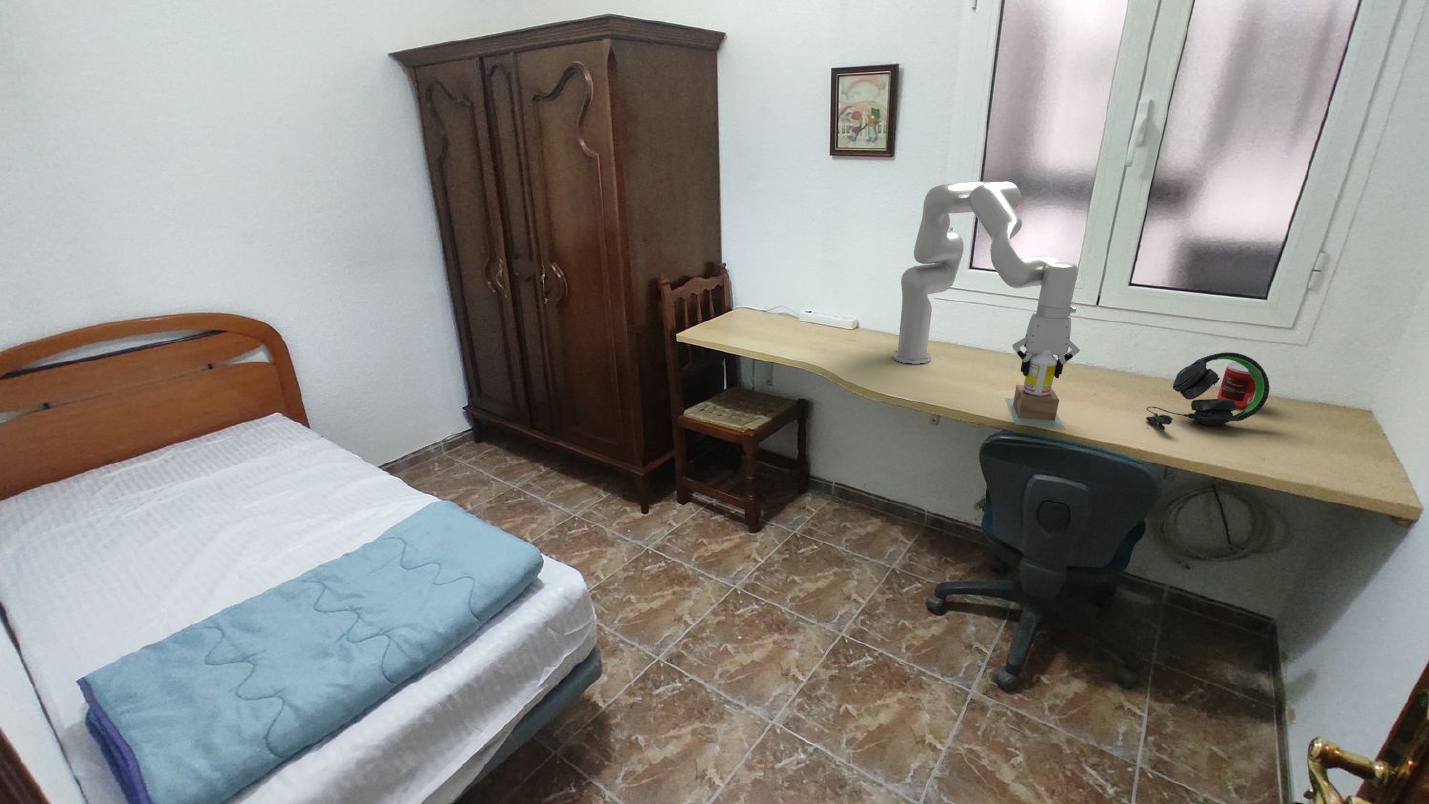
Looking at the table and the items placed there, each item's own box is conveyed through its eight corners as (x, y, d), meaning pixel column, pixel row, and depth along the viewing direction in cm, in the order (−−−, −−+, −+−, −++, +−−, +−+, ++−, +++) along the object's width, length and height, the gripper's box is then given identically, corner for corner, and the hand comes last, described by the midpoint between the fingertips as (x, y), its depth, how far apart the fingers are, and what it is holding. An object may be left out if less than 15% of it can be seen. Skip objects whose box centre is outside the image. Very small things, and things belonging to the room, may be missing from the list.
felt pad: (1004, 399, 186) (1004, 397, 185) (1049, 402, 183) (1049, 401, 183) (1015, 426, 170) (1015, 424, 170) (1064, 430, 167) (1065, 428, 167)
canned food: (1243, 399, 182) (1255, 363, 177) (1254, 410, 175) (1268, 373, 171) (1211, 396, 184) (1223, 360, 180) (1221, 407, 177) (1233, 370, 173)
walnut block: (1012, 404, 181) (1016, 384, 179) (1047, 407, 179) (1051, 387, 177) (1018, 417, 173) (1022, 397, 171) (1054, 420, 171) (1059, 400, 169)
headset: (1156, 450, 174) (1269, 403, 167) (1178, 452, 160) (1302, 401, 154) (1122, 391, 176) (1233, 342, 170) (1142, 388, 163) (1262, 336, 157)
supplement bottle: (1049, 389, 175) (1059, 345, 170) (1049, 398, 170) (1060, 352, 165) (1022, 385, 178) (1032, 341, 173) (1022, 394, 172) (1032, 349, 167)
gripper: (1086, 308, 166) (1072, 372, 173) (1013, 305, 170) (1003, 368, 177) (1094, 317, 159) (1079, 383, 167) (1019, 313, 163) (1007, 378, 171)
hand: (1040, 374), depth 172 cm, fingers open, 7 cm apart
